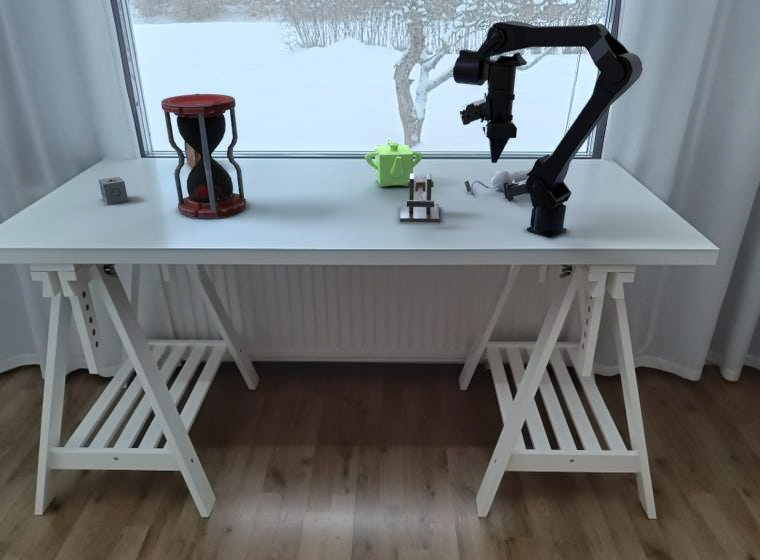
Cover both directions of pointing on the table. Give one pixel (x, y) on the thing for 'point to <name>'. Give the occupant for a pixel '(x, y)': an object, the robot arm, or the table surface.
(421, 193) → the tap lever
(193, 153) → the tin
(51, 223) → the table surface
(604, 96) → the robot arm
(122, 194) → the dice cube
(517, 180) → the clip-on lamp
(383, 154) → the teapot
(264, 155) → the table surface
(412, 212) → the stand
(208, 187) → the hourglass
